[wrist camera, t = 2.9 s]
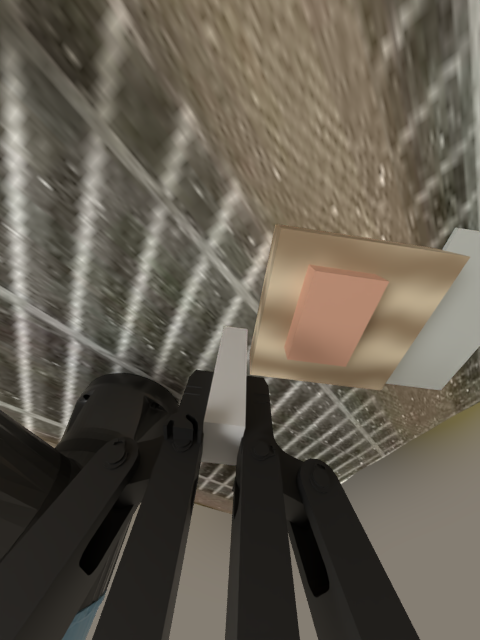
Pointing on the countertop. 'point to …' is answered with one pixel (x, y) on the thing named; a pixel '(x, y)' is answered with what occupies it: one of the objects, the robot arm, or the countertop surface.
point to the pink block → (332, 314)
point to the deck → (387, 320)
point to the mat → (447, 324)
